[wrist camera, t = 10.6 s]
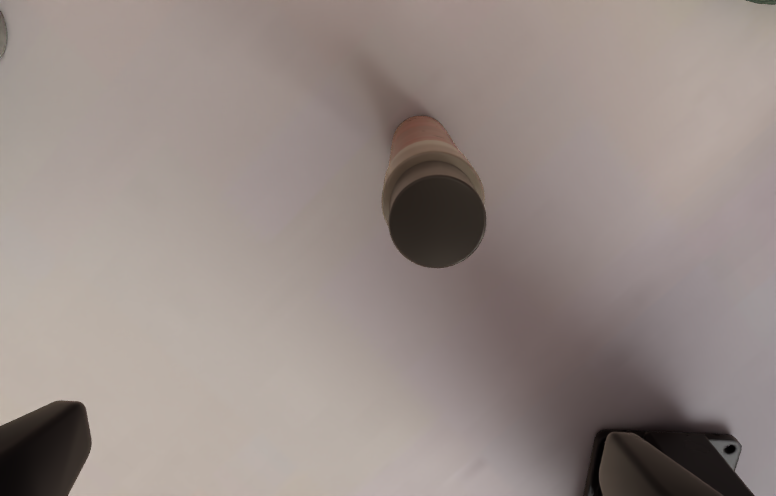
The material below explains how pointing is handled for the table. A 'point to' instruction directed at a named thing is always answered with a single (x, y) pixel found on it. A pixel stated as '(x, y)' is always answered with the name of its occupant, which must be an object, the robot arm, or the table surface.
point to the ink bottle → (763, 1)
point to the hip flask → (2, 34)
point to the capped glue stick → (432, 196)
